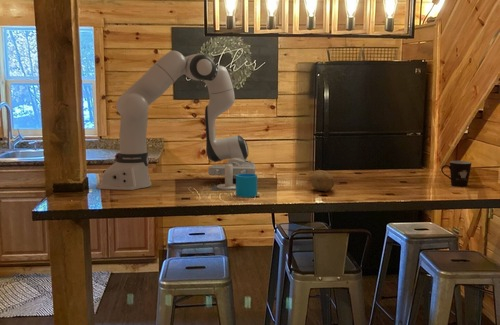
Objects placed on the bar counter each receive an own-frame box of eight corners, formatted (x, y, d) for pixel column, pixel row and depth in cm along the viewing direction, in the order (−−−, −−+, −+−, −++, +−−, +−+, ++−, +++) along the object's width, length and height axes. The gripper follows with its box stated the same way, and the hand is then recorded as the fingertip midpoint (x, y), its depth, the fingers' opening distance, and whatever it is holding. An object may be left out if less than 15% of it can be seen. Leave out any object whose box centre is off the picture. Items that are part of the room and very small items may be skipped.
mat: (211, 191, 213) (211, 190, 213) (212, 185, 225) (212, 184, 225) (246, 191, 213) (246, 190, 213) (245, 185, 225) (245, 184, 225)
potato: (314, 194, 207) (315, 174, 206) (306, 187, 221) (307, 168, 219) (339, 194, 208) (339, 174, 207) (329, 187, 222) (330, 168, 221)
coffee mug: (470, 184, 228) (472, 161, 227) (469, 188, 221) (471, 164, 219) (442, 182, 233) (443, 159, 232) (440, 185, 225) (441, 162, 224)
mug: (257, 198, 201) (257, 177, 200) (236, 198, 200) (236, 177, 199) (256, 191, 213) (256, 171, 211) (235, 192, 212) (235, 171, 211)
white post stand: (216, 189, 214) (216, 166, 213) (217, 185, 224) (216, 162, 223) (241, 189, 214) (241, 166, 213) (240, 185, 224) (240, 162, 223)
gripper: (211, 160, 234) (204, 165, 221) (257, 162, 231) (253, 166, 218) (211, 174, 235) (204, 180, 222) (257, 176, 232) (253, 181, 219)
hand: (229, 173), depth 220 cm, fingers open, 8 cm apart
